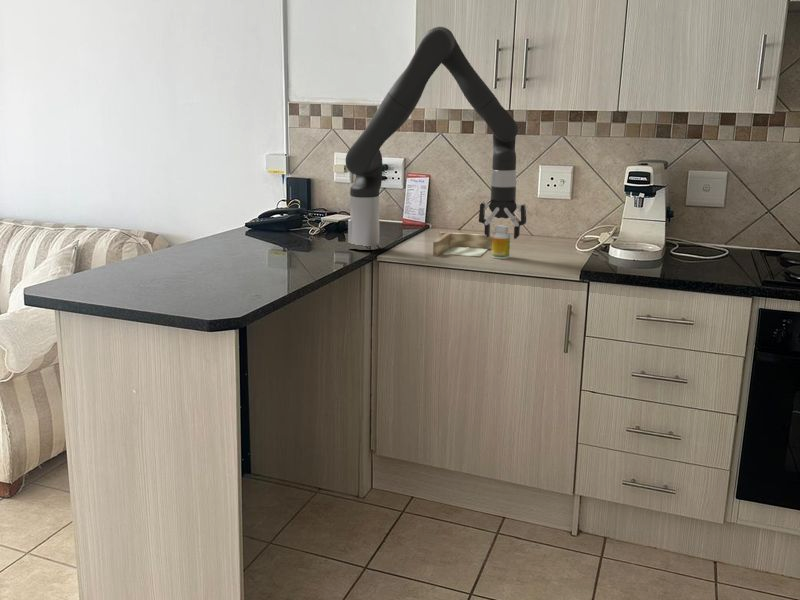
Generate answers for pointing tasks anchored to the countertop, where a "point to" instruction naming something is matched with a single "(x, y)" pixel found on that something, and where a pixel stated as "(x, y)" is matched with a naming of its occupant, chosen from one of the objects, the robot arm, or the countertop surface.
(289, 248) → the countertop surface
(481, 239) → the corner arena
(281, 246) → the countertop surface
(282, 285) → the countertop surface
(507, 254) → the supplement bottle
